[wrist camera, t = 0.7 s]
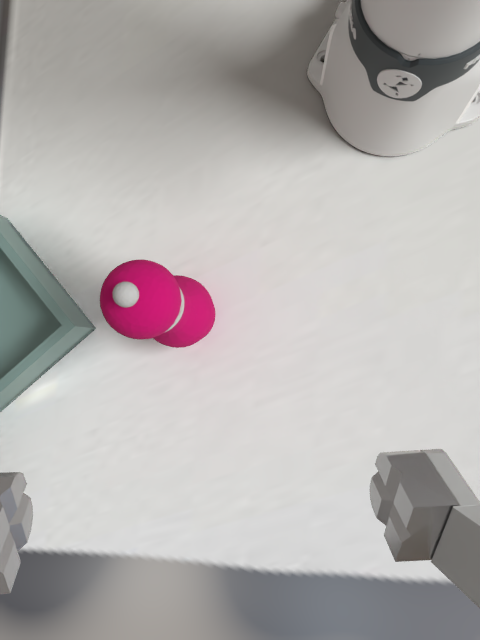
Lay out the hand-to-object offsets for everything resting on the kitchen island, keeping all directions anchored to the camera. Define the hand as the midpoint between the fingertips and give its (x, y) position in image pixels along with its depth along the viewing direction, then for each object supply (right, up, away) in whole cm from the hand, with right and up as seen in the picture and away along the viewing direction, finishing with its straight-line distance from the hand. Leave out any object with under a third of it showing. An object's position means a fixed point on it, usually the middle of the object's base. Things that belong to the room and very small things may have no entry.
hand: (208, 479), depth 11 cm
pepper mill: (-5, +4, +40) cm, 40 cm away
